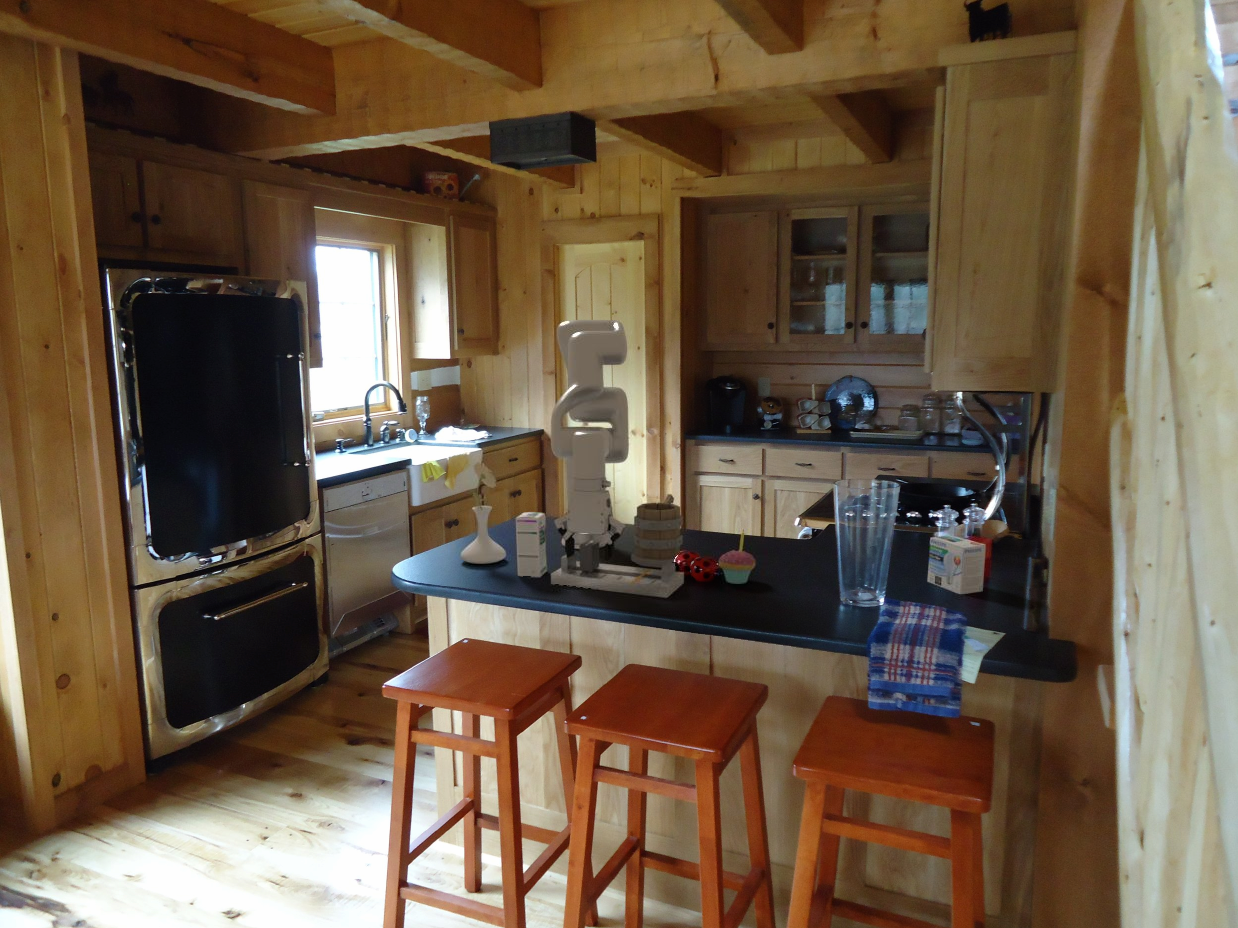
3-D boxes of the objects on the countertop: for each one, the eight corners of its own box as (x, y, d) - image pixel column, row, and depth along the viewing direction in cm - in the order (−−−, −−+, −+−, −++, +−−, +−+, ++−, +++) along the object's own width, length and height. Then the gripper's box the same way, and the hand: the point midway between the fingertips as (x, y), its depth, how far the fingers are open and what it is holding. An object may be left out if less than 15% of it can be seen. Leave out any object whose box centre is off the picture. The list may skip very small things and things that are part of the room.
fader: (587, 565, 206) (587, 540, 205) (599, 566, 205) (599, 541, 204) (579, 570, 202) (579, 544, 201) (591, 571, 201) (591, 545, 200)
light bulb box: (926, 582, 202) (928, 536, 200) (948, 578, 205) (951, 533, 203) (961, 595, 192) (964, 547, 191) (984, 591, 195) (987, 544, 193)
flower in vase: (510, 565, 217) (508, 465, 213) (464, 569, 213) (461, 468, 209) (500, 552, 229) (497, 458, 225) (456, 556, 225) (453, 460, 221)
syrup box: (540, 577, 206) (539, 517, 203) (516, 576, 207) (515, 516, 205) (547, 571, 211) (546, 512, 209) (523, 569, 212) (522, 511, 210)
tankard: (675, 569, 213) (675, 509, 210) (626, 564, 217) (626, 505, 215) (696, 550, 231) (697, 494, 229) (651, 546, 236) (651, 491, 233)
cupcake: (733, 573, 209) (734, 524, 207) (762, 581, 203) (764, 530, 201) (710, 581, 203) (711, 530, 201) (740, 588, 197) (741, 536, 195)
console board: (573, 570, 212) (572, 548, 211) (683, 582, 201) (683, 559, 201) (551, 584, 201) (550, 560, 200) (667, 597, 190) (667, 573, 190)
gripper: (630, 484, 200) (630, 557, 203) (561, 480, 206) (562, 550, 209) (618, 489, 193) (618, 565, 196) (547, 485, 200) (548, 558, 202)
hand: (589, 557), depth 202 cm, fingers open, 9 cm apart
